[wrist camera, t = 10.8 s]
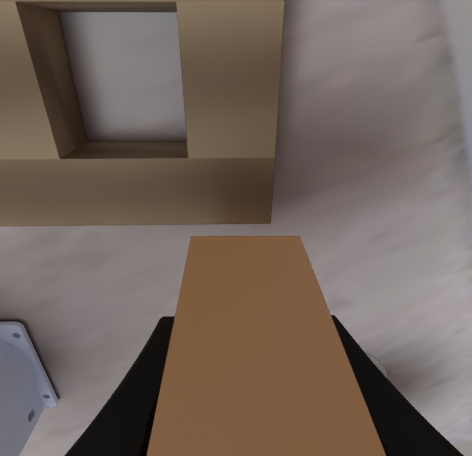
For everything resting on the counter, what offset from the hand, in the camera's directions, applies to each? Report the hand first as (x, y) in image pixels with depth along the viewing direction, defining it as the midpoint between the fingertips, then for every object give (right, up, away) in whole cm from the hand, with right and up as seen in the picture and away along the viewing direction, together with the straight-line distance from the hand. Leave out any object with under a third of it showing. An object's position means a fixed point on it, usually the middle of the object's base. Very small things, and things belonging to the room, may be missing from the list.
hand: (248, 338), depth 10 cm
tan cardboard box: (0, +1, +3) cm, 3 cm away
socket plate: (-5, +10, +5) cm, 13 cm away
